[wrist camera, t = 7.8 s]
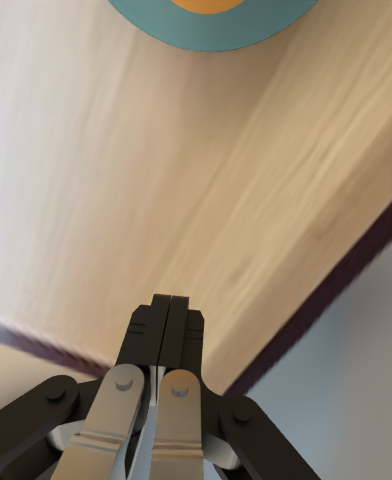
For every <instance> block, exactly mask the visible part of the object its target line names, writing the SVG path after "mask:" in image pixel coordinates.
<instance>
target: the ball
mask: <svg viewBox="0 0 392 480" xmlns="http://www.w3.org/2000/svg"><path fill="white" fill-rule="evenodd" d="M171 1H173V2H174V3H175V4H177V5H178V6H180V7H182V8H184V9H186V10H188V11H191V12H194V13H200V14H215V13H220V12H223V11H227V10H229V9H231V8H233V7H235V6H237V5H238V4H240V3H241V2H243V1H244V0H171Z"/></svg>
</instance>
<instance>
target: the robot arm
mask: <svg viewBox="0 0 392 480" xmlns="http://www.w3.org/2000/svg"><path fill="white" fill-rule="evenodd" d="M188 307H189V297H183V296H174V295H173V296H172V299H171V295H163V294H154V296H153V299H152V303H151V306H149V305H140V306H139V307H138V308H137V309H136V310H135V311H134V312H133V313H132V316H131V319H130V322H129V325H128V328H127V332H126V334H125V337H124V340H123V343H122V346H121V349H120V352H119V355H118V358H117V361H116V364H115V366H114V367H113V368H112V369H110V370H109V371H108V372H107V374H106V375H105V376H104V377H102V378H100V379H97V380H94V381H89V382H84V383H79V384H77V382H76V380H75V379H74V378H72V377H70V376H67V375H57V376H53V377H51V378H49V379H47V380H45V381H44V382H42V383H41V384H39V385H37V386H36V387H34V388H33V389H32V390H30V391H28V392H27V393H25V394H24V395H22V396H20V397H19V398H18V399H16V400H14V401H13V402H11V403H10V404H8V405H7V406H5V407H4V408H2V409H0V480H47V479H48V478H49V477H50V476H51V475H52V478H51V480H130V478H131V475H132V472H133V468H134V464H135V461H136V457H137V454H138V450H139V446H140V443H141V439H142V436H143V432H144V429H145V422H146V419H147V414H148V409H149V406H153V407H155V406H156V402H157V397H158V402H157V405H158V409H157V419H156V428H155V438H154V446H153V450H152V457H151V467H150V477H149V480H204V469H203V468H204V467H203V458H204V459H206V460H208V461H210V462H212V463H213V465H214V468H215V470H216V471H217V473H218V474H219V476H220V478H221V479H222V480H321V479H320V478H319V477H318V476H317V474H316V473H315V472H314V471H313V469H312V468H311V467H310V466H309V465H308V464H307V462H306V461H305V460H304V459H303V458H302V457H301V455H300V454H299V453H298V452H297V451H296V449H295V448H294V447H293V446H292V445H291V443H290V442H289V441H288V440H287V439H286V438H285V436H284V435H283V434H282V433H281V432H280V430H279V429H278V428H277V427H276V426H275V424H274V423H273V422H272V421H271V420H270V419H269V418H268V416H267V415H266V414H265V413H264V411H263V410H262V409H261V408H260V407H259V406H258V404H257V403H256V402H255V401H253V400H252V399H251V398H249V397H246V396H243V395H234V396H231V397H229V398H227V399H226V398H224V397H222V396H220V395H217V394H215V393H213V392H212V391H211V390H209V389H208V388H207V387H206V385H205V384H204V382H203V380H202V377H201V363H202V349H203V334H204V318H203V316H202V314H201V311H199V310H189V309H188Z"/></svg>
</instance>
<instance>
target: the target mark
mask: <svg viewBox="0 0 392 480" xmlns="http://www.w3.org/2000/svg"><path fill="white" fill-rule="evenodd" d="M108 1H109V2H110V3H111V4H112V5H113V6H114V7H115V8H116V10H117V11H119V12H120V13H121V14H122V15H123V16H124V17H125V18H127V19H128V20H129V21H130V22H131V23H132V24H134V25H135V26H137V27H138V28H140V29H141V30H143V31H144V32H146V33H147V34H149V35H150V36H152V37H154V38H157V39H159V40H161V41H163V42H165V43H167V44H170V45H174V46H177V47H180V48H183V49H189V50H195V51H214V52H219V51H226V50H233V49H238V48H242V47H245V46H248V45H252V44H255V43H257V42H259V41H262V40H264V39H266V38H268V37H270V36H272V35H274V34H276V33H277V32H279V31H281V30H282V29H284V28H285V27H287V26H288V25H290V24H291V23H293V22H294V21H295V20H296V19H298V18H299V17H300V16H301V15H302V14H304V13H305V12H306V11H307V10H308V9H309V8H310V7H311V6H312V5H313V4H314V3H315V2H316V1H317V0H244V1H243V2H241V3H240V4H238V5H237V6H235V7H233V8H231V9H229V10H227V11H223V12H220V13H215V14H200V13H194V12H191V11H188V10H186V9H184V8H182V7H180V6H178V5H177V4H175V3H174V2H173V1H171V0H108Z"/></svg>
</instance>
